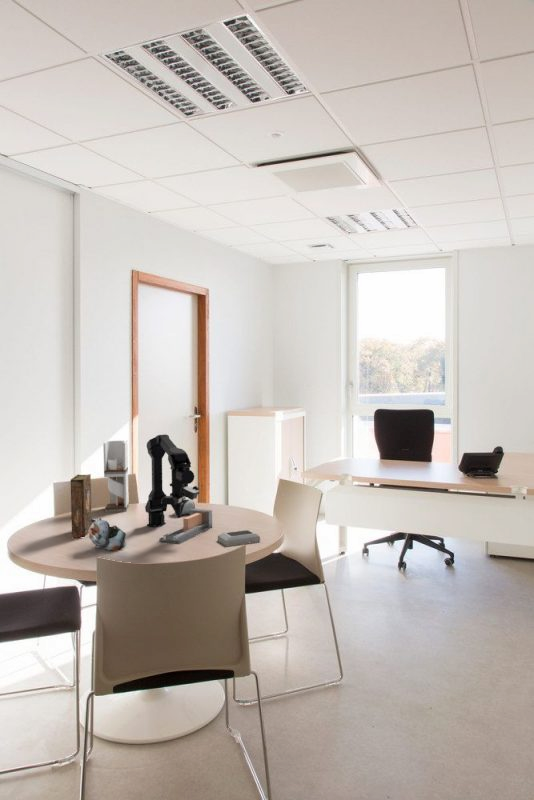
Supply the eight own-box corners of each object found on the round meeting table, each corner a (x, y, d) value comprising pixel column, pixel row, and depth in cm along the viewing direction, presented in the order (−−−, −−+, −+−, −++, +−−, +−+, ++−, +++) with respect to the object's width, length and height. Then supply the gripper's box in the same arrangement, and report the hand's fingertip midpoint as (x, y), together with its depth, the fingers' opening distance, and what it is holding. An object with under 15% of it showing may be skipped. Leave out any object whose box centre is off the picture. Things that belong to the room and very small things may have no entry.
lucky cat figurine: (125, 551, 246) (108, 523, 242) (97, 563, 247) (80, 535, 242) (129, 531, 260) (113, 504, 256) (102, 543, 261) (86, 516, 256)
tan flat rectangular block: (183, 532, 272) (183, 518, 271) (197, 526, 283) (197, 512, 282) (188, 532, 271) (188, 518, 271) (202, 526, 282) (201, 513, 282)
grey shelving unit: (108, 507, 330) (106, 440, 329) (128, 506, 331) (127, 440, 330) (104, 512, 319) (103, 443, 317) (126, 511, 320) (124, 442, 319)
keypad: (217, 532, 261) (250, 528, 268) (217, 541, 261) (250, 537, 268) (226, 538, 252) (260, 533, 259) (226, 547, 253) (260, 542, 259)
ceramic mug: (196, 514, 312) (195, 498, 312) (181, 516, 307) (181, 500, 307) (185, 511, 320) (185, 495, 320) (171, 513, 315) (170, 498, 315)
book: (84, 538, 268) (83, 479, 267) (71, 538, 267) (69, 480, 266) (91, 528, 284) (90, 473, 283) (79, 529, 284) (78, 474, 283)
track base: (159, 541, 261) (158, 522, 261) (192, 525, 287) (192, 508, 287) (180, 543, 257) (179, 524, 257) (212, 527, 283) (212, 510, 283)
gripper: (184, 485, 254) (184, 523, 254) (205, 478, 271) (206, 514, 271) (160, 483, 258) (161, 521, 258) (183, 477, 275) (184, 512, 276)
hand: (179, 517), depth 266 cm, fingers closed
